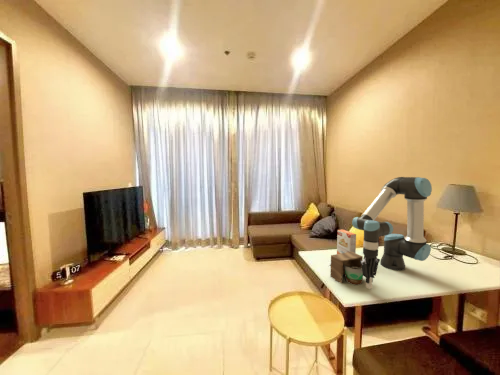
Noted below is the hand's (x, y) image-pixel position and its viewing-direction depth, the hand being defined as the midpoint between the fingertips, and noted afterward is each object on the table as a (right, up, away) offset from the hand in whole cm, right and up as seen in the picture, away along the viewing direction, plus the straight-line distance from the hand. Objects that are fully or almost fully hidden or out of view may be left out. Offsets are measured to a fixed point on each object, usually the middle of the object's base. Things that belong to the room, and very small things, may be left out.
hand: (368, 287), depth 127 cm
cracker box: (+7, +2, +48) cm, 48 cm away
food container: (-4, -1, +9) cm, 10 cm away
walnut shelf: (-6, 0, +17) cm, 18 cm away
